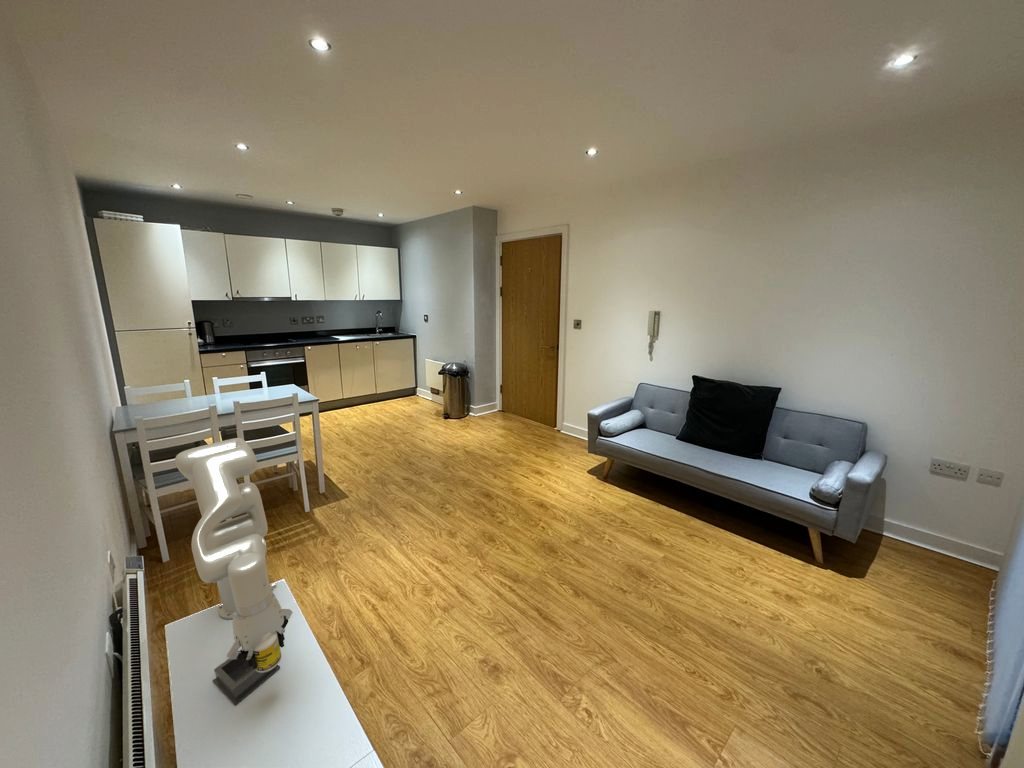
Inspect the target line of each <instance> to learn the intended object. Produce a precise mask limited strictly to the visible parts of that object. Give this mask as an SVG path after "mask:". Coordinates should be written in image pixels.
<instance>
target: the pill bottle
mask: <svg viewBox="0 0 1024 768" xmlns="http://www.w3.org/2000/svg"><path fill="white" fill-rule="evenodd" d="M261 641H262V642H261V643H259V644H258V645H257V646H255V647H254V650H253V655H254V656H255V659H256V663H257V668H256V669H255V670H256V671H257V672H260V673H263V672H267V671H270V670H272V669H273V668H274V667H275V666H276V665H277V664H279V663H280V661H281V659H282V651H281V647H280V645H279V641H278V636H277V632H276V631H275V632H274V633H272V634H271V633H270V632H268V633H267V634H266V635H264V636H263V637H262V640H261Z"/></svg>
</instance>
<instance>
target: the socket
mask: <svg viewBox="0 0 1024 768" xmlns="http://www.w3.org/2000/svg"><path fill="white" fill-rule="evenodd" d="M239 651H242V648H241V649H239ZM278 664H279V663H278ZM278 664H277V665H276V666H275V667H274V668H273V669H272V670H270V671H267V672H263V673H260V672H257V671H256V670H254V669H253V668H252V667H250V668H249V667H247V665H246V662H245V659H240V660H239V659H229V658H227V659H226V660H225V661H224V662H222V663H220V664H219V665H218V666H217V667H216V668H214V673H215V678H214V679H212V680H211V681H212V683H213V684H214V685H215V686H216V688H218V690H219V691H220V692H221V693H222V694H223V695H224V696H225V697H226V699H228V701H229V702H230V703H232V705H233V706H234V707H237V706H238V705H239V704H240V703H242V701H243V700H244V699H246V698H248V697H249V695H251V694H253V692H255V690H256V689H258V688H259V687H260V686H261V685H264V683H265V682H266V681H268V679H270V678H271V677H273V675H274V674H276V673H278V671H280V670H281V666H280V665H278Z"/></svg>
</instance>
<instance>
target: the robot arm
mask: <svg viewBox="0 0 1024 768" xmlns="http://www.w3.org/2000/svg"><path fill="white" fill-rule="evenodd" d="M174 462H175V463H174V464H175V466H176V467H177V469H178V471H179V473H181V475H183V476H184V478H186V479H187V480H188V482H190V483H191V485H192V487H193V489H194V490H193V491H194V494H195V497H196V500H197V504H198V508H199V512H200V514H201V515H200V516H201V518H200V519H199V520H198V522H197V524H196V526H195V528H194V530H193V533H192V537H191V551H192V555H193V560H194V563H195V567H196V571H197V573H198V576H199V578H200V580H201V581H202V582H203V583H206V584H211V583H212V584H213V583H216V585H217V589H218V592H219V596H220V600H221V601H220V603H219V605H221V604H223V605H221V606H219V605H218V608H217V611H218V612H217V613H218V616H219V617H221V618H222V619H224V620H225V619H226V620H231V619H232V629H233V630H232V631H233V639H234V642H233V644H232V646H231V647H230V649H229V651H228V653H227V654H226V657H227V659H239V660H240V659H245V662H246V665H247V667H249V668H250V667H252V668H253V669H254V670H255V669H256V668H257V663H256V659H255V656H254V655H253V650H254V647H255V646H257V645H258V644H259V643H261V642H262V641H261V640H262V637H263V636H264V635H266V634H267V633H268V632H270V633H271V634H272V633H274V632H275V631H276V632H277V636H278V641H279V645H280V649H282V648H283V647H285V642H284V641H285V635H284V633H286V628H287V627H286V626H287V625H288V623H289V620H290V619H291V617H292V615H293V610H292V609H290V608H282V607H281V605H280V603H279V600H278V597H277V596H276V595H275V593H274V592H273V591H275V589H276V588H277V584H276V583H275V582H273V583H272V584H271V583H270V579H269V574H268V570H267V569H268V568H267V564H266V563H267V562H266V561H267V560H266V553H267V551H268V549H267V542H266V539H265V536H267V533H268V531H269V530H268V520H267V517H266V513H265V509H264V505H263V500H262V499H263V498H262V496H261V493H260V490H259V488H258V487H257V484H255V483H254V482H251V481H250V482H249V481H246V482H242V483H238V482H237V479H238V478H242V477H246V476H250V475H252V474H254V473H255V472H256V471H257V470H258V469H257V468H258V460H257V457H256V454H255V453H254V450H253V449H252V447H251V446H250V445H249V444H248V443H247V442H246V440H245V439H243V438H241V437H235V438H230V439H225V440H222V441H218V442H214V443H209V444H205V445H204V444H203V445H200V446H197V447H192V448H189V449H186V450H183V451H181V452H179V453H178V454H176V456H175V458H174ZM240 648H241V649H242V651H240Z"/></svg>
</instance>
